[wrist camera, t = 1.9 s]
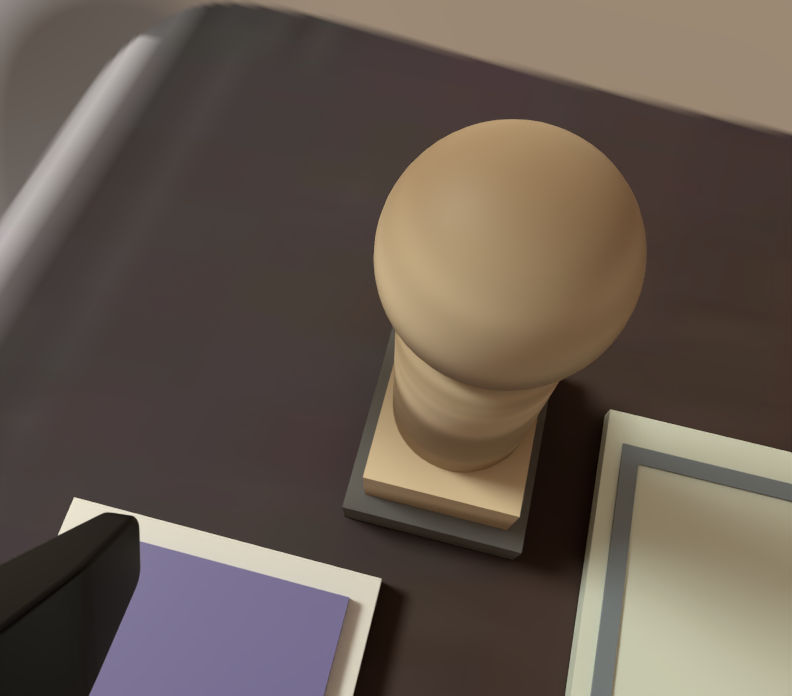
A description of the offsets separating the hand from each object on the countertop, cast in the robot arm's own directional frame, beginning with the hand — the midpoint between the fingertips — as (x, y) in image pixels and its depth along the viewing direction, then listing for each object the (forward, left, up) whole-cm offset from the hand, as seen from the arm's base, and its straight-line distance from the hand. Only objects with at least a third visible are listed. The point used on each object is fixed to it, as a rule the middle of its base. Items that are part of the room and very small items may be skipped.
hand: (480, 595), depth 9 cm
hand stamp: (+5, +1, -12) cm, 13 cm away
